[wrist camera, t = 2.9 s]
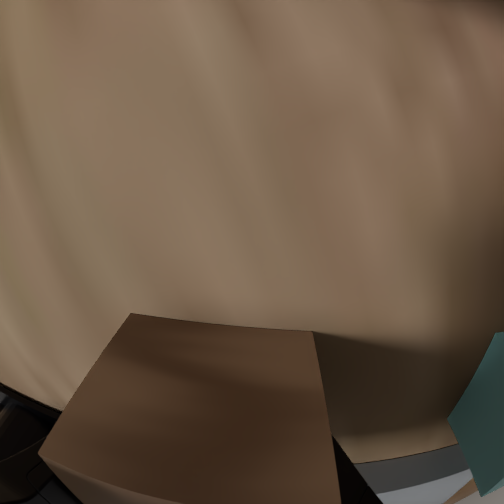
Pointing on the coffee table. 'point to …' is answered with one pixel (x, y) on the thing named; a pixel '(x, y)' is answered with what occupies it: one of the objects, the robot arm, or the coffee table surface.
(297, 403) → the walnut block
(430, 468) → the base plate
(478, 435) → the teal block
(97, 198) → the coffee table surface
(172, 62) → the coffee table surface
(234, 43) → the coffee table surface
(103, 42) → the coffee table surface
